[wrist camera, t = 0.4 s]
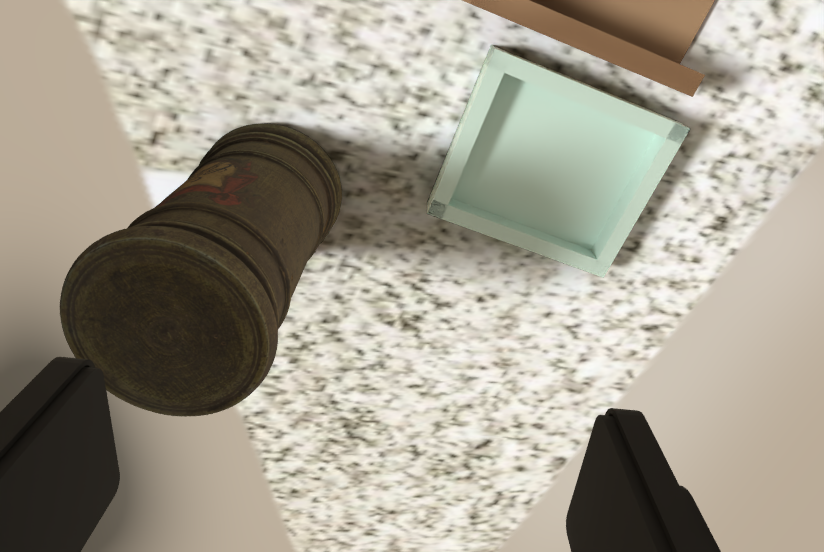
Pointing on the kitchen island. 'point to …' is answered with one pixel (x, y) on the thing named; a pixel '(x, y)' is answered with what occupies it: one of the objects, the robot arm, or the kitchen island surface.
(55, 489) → the robot arm
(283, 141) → the container
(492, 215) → the tray
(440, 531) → the kitchen island surface
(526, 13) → the bay
